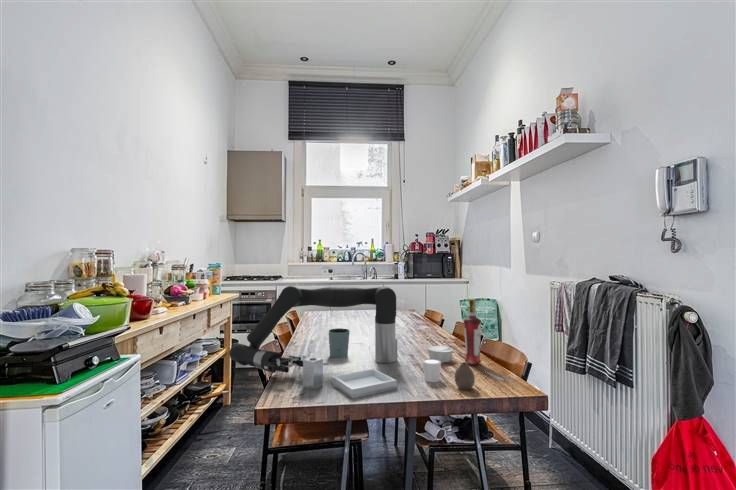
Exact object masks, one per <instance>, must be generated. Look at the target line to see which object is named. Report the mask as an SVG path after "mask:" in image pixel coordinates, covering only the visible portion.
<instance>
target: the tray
mask: <svg viewBox="0 0 736 490" xmlns="http://www.w3.org/2000/svg"><path fill="white" fill-rule="evenodd" d="M331 385H332V386H333V387H335V388H336V389H338V390H339V391H341V392H342V393H343V394H345V395H347V397H350V399H356V398H357V399H358V398H361V397H365V396H369V395H374V394H379V393H383V392H388V391H392V390H397V389H398V379H395V378H393V377H391V376H390V375H387V374H385V373H383V372H381V371H379V370H377V369H375V368H370V369H364V370H359V371H353V372H347V373H342V374H341V373H340V374H337V375H333V376H331Z"/></svg>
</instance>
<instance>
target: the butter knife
mask: <svg viewBox="0 0 736 490" xmlns="http://www.w3.org/2000/svg"><path fill="white" fill-rule="evenodd" d="M484 371H485V372H484V373H486V372H487V373H486V374H487V375H489V374H490V375H489V376H491V377H493V378H495V379H496V380H498V381H499V380H500V381H505V379H504V378H503V377H500V376H498V375H496V374H493V373H491V372H489V371H486V370H484Z"/></svg>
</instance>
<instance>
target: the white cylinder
mask: <svg viewBox="0 0 736 490" xmlns="http://www.w3.org/2000/svg"><path fill="white" fill-rule="evenodd" d="M422 364H423V365H422V366H423V375H424V380H425V381H426V382H428V383H438V382H440V380H441V367H442V363H441V361H439V360H435V359H430V358H429V359H424V360H422Z"/></svg>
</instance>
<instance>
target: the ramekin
mask: <svg viewBox="0 0 736 490" xmlns="http://www.w3.org/2000/svg"><path fill="white" fill-rule="evenodd" d="M427 351H428V356H429V359H435V360H439V361H441V364H445V363H444V362H447V363H449V362H451V361H452V356H453V353H454V350H453V348H452V347H450V346H445V345H432V346H428V348H427Z"/></svg>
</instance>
